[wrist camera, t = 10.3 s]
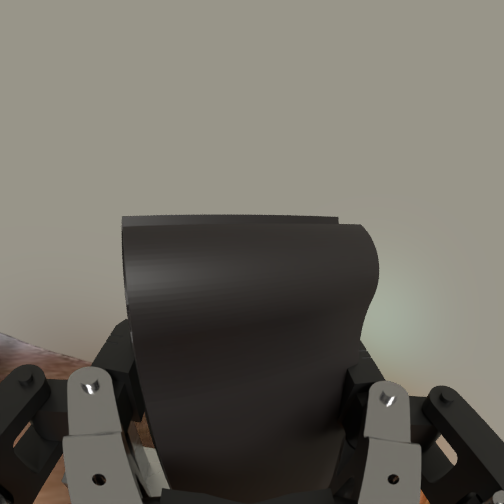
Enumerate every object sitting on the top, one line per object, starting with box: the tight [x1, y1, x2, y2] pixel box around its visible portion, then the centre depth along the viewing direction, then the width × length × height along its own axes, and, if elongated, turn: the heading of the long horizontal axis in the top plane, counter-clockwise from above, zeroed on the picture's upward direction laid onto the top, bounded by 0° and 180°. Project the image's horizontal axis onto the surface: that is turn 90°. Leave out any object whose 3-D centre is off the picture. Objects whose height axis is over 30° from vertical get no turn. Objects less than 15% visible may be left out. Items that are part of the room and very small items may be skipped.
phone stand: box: [122, 215, 379, 504], centre depth 8 cm, size 9×6×12 cm, turn 26°
